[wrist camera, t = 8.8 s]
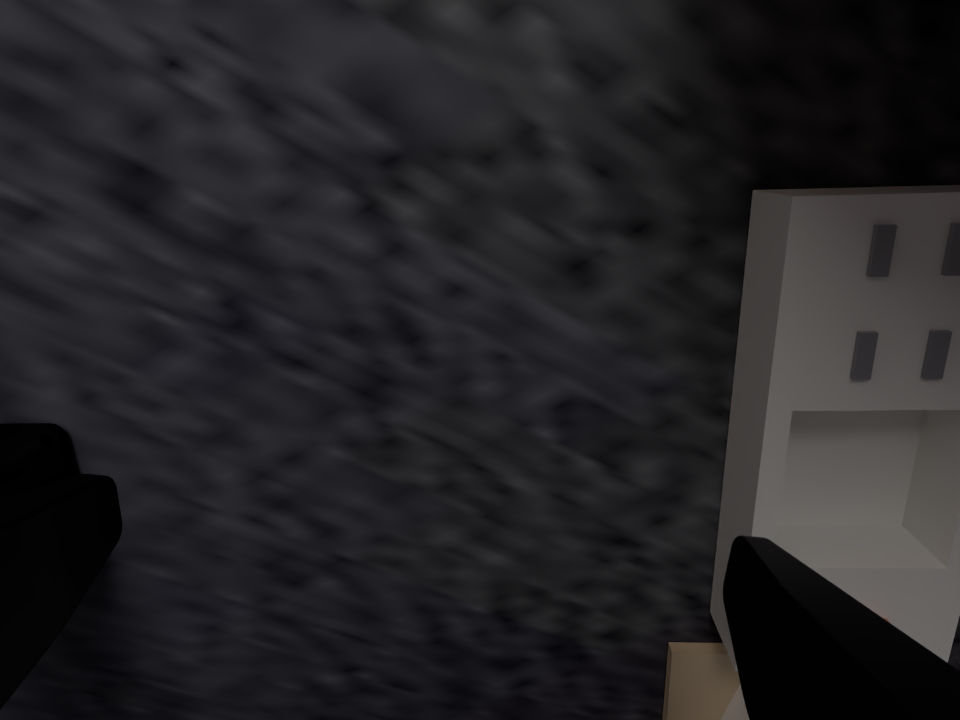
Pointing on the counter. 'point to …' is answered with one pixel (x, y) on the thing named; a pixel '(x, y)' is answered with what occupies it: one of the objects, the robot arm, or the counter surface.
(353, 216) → the counter surface
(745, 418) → the power strip
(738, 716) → the charger
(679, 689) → the coaster
